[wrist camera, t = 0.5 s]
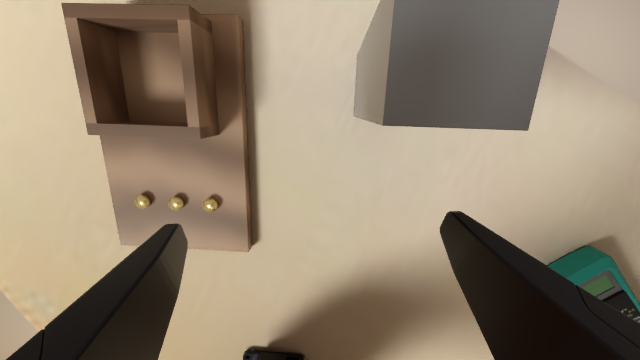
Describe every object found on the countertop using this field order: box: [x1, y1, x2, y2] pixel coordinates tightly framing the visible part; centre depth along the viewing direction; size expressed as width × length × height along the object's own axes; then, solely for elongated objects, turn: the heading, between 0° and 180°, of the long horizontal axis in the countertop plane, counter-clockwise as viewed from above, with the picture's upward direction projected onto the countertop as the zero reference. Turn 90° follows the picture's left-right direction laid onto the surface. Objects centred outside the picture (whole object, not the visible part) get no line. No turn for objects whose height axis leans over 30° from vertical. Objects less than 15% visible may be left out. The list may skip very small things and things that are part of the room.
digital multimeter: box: [548, 246, 640, 323], centre depth 24 cm, size 7×15×3 cm, turn 41°
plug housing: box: [353, 0, 559, 131], centre depth 14 cm, size 4×4×13 cm
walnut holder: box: [61, 3, 252, 252], centre depth 20 cm, size 19×12×4 cm, turn 178°
